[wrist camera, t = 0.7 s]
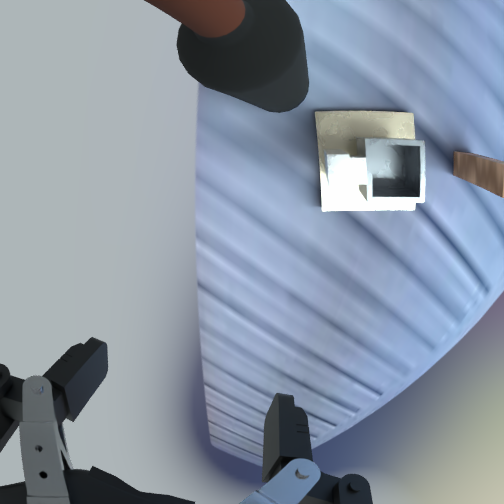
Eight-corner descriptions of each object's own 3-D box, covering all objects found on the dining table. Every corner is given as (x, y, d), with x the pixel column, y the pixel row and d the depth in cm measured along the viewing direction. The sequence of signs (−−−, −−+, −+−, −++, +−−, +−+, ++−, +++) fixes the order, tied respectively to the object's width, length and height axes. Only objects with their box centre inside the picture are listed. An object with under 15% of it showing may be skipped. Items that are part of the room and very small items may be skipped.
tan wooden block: (453, 151, 28) (504, 164, 17) (472, 153, 27) (524, 168, 17) (453, 175, 29) (502, 197, 19) (471, 176, 29) (522, 199, 18)
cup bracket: (314, 112, 31) (315, 105, 22) (409, 113, 28) (442, 109, 19) (321, 207, 35) (324, 235, 26) (411, 206, 32) (440, 233, 24)
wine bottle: (240, 104, 32) (19, 67, 5) (255, 50, 29) (93, -95, 2) (299, 120, 31) (228, 63, 5) (315, 64, 28) (306, -128, 1)
